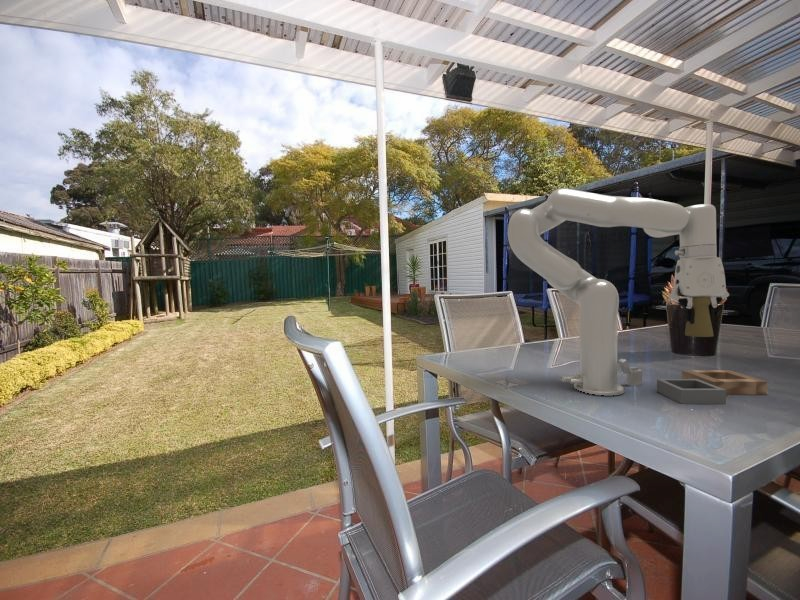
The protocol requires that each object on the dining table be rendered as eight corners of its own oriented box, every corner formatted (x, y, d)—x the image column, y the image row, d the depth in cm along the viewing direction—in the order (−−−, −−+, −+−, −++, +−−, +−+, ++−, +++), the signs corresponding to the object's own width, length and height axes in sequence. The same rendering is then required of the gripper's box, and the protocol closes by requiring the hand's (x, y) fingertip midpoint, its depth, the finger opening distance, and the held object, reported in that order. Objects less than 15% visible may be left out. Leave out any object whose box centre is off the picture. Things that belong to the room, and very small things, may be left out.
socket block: (713, 394, 100) (713, 381, 100) (682, 381, 113) (682, 370, 113) (766, 394, 99) (767, 381, 99) (728, 381, 112) (729, 370, 112)
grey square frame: (681, 403, 94) (681, 389, 94) (657, 391, 104) (656, 379, 104) (726, 403, 93) (726, 389, 93) (697, 391, 103) (697, 379, 103)
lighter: (637, 383, 113) (637, 357, 113) (642, 384, 112) (642, 358, 111) (617, 385, 112) (617, 358, 111) (622, 387, 110) (622, 359, 110)
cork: (719, 336, 96) (718, 293, 95) (691, 337, 97) (690, 294, 97) (706, 333, 102) (705, 292, 101) (680, 333, 103) (679, 293, 103)
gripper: (671, 254, 96) (673, 325, 97) (744, 250, 94) (745, 323, 94) (655, 256, 103) (657, 322, 104) (722, 252, 101) (723, 320, 102)
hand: (699, 322), depth 99 cm, fingers closed on cork, 3 cm apart
